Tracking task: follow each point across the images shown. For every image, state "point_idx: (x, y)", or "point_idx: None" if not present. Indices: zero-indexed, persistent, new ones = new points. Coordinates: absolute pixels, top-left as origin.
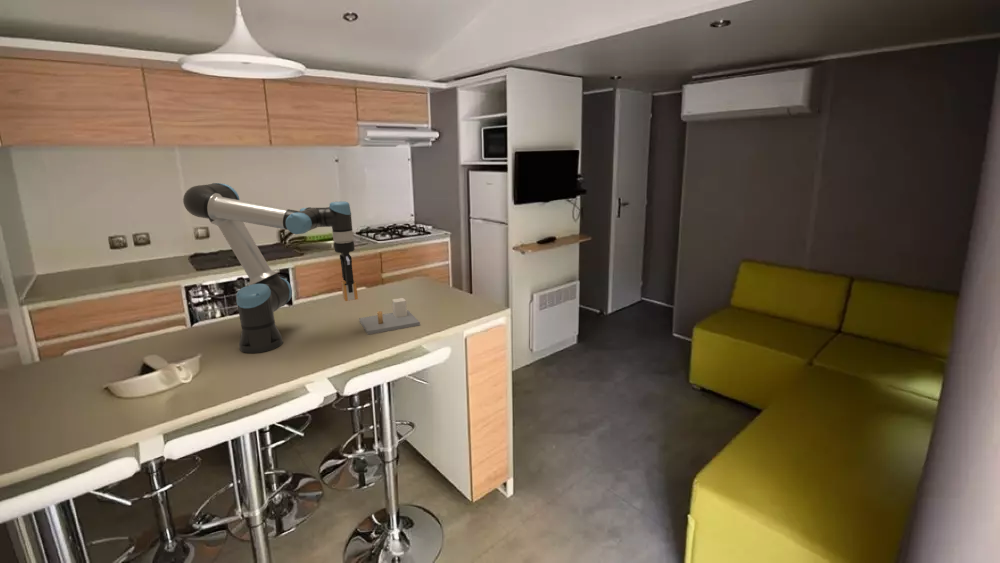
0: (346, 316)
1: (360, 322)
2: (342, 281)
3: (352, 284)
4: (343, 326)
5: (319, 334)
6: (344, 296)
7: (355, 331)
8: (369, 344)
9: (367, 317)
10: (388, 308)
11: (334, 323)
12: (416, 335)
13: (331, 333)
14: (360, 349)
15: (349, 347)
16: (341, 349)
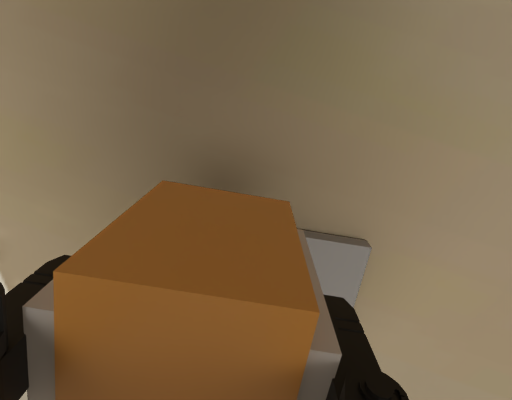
0: (493, 217)
1: (338, 237)
2: (301, 330)
3: (34, 391)
4: (359, 156)
5: (331, 5)
6: (161, 195)
7: (249, 179)
8: (46, 172)
9: (350, 281)
10: (438, 392)
11: (439, 132)
12: None
13: (301, 69)
14: (4, 117)
15: (53, 82)
16: (45, 38)
